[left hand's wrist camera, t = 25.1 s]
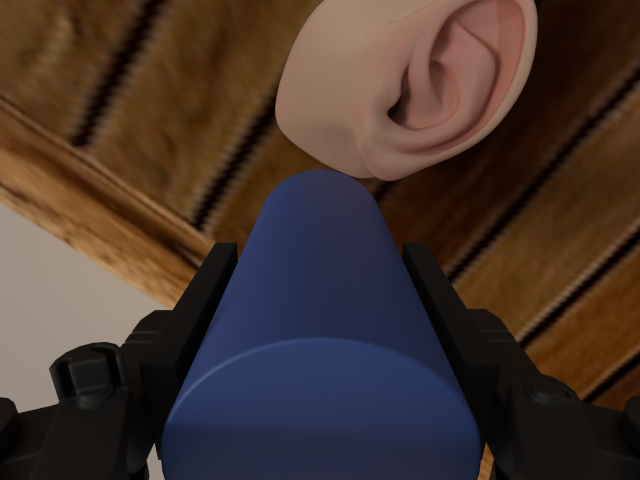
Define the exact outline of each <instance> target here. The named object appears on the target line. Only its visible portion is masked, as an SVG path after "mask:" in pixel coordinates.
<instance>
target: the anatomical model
mask: <svg viewBox="0 0 640 480" xmlns="http://www.w3.org/2000/svg"><path fill="white" fill-rule="evenodd" d="M536 40H537V12H536V6H535V3H534V0H324V1H323V2H322V3H321V4H320V5H319V6H318V7H317V8H316V9H315V10H314V11H313V13H312V14H311V15H310V17H309V18H308V19H307V21H306V23H305V24H304V26H303V28H302V29H301V31H300V33H299V35H298V37H297V39H296V41H295V43H294V45H293V47H292V49H291V52H290V55H289V57H288V60H287V63H286V65H285V68H284V72H283V75H282V78H281V81H280V85H279V89H278V94H277V99H276V111H275V113H276V120H277V123H278V125H279V127H280V129H281V131H282V132H283V133H284V134H285V136H286V137H287V138H288V139H289V140H291V141H292V142H293V143H294V144H295V145H297V146H298V147H299V148H301V149H302V150H304V151H305V152H307V153H308V154H310V155H311V156H313V157H314V158H316V159H317V160H319V161H321V162H322V163H324V164H326V165H328V166H330V167H332V168H334V169H336V170H338V171H341V172H343V173H345V174H348V175H350V176H354V177H358V178H372V177H377V178H379V179H382V180H386V181H392V180H397V179H401V178H403V177H406V176H408V175H410V174H413V173H415V172H417V171H419V170H422V169H424V168H426V167H429V166H431V165H434V164H436V163H439V162H441V161H444V160H446V159H449V158H451V157H453V156H455V155H457V154H459V153H461V152H463V151H465V150H467V149H469V148H470V147H472V146H473V145H475V144H476V143H478V142H479V141H480V140H482V139H483V138H484V137H486V136H487V135H488V134H489V133H490V132H491V131H492V130H493V129H494V128H495V127H496V126H497V125H498V124H499V123H500V122H501V121H502V119H503V118H504V117H505V116H506V114H507V113H508V112H509V110H510V109H511V107H512V106H513V104H514V103H515V101H516V100H517V98H518V96H519V95H520V93H521V91H522V89H523V87H524V85H525V83H526V81H527V78H528V75H529V73H530V70H531V66H532V62H533V58H534V53H535V48H536Z"/></svg>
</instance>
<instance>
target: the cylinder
mask: <svg viewBox="0 0 640 480" xmlns="http://www.w3.org/2000/svg"><path fill="white" fill-rule="evenodd" d="M161 463H162V471H163V475H164V478H165V480H477V479H478V475H479V471H480V464H481V439H480V435H479V431H478V427H477V423H476V421H475V419H474V417H473V414H472V412H471V410H470V408H469V405H468V403H467V401H466V399H465V397H464V394H463V392H462V390H461V388H460V386H459V383H458V381H457V379H456V377H455V375H454V372H453V370H452V368H451V366H450V364H449V361H448V359H447V357H446V355H445V353H444V350H443V348H442V346H441V344H440V342H439V339H438V337H437V335H436V333H435V331H434V328H433V326H432V324H431V322H430V320H429V317H428V315H427V313H426V311H425V309H424V306H423V304H422V302H421V300H420V298H419V295H418V293H417V291H416V289H415V287H414V284H413V282H412V280H411V278H410V276H409V273H408V271H407V269H406V267H405V265H404V262H403V260H402V258H401V256H400V254H399V251H398V249H397V247H396V245H395V243H394V240H393V238H392V236H391V234H390V232H389V229H388V227H387V225H386V223H385V221H384V218H383V216H382V214H381V212H380V210H379V207H378V205H377V203H376V201H375V199H374V198H373V196H372V195H371V194H370V192H369V191H368V190H367V189H366V188H365V187H364V186H363V185H362V184H361V183H359V182H358V181H356V180H355V179H353V178H351V177H349V176H347V175H345V174H342V173H339V172H335V171H330V170H311V171H306V172H302V173H299V174H296V175H294V176H292V177H290V178H288V179H286V180H285V181H283V182H282V183H281V184H279V185H278V186H277V187H276V188H275V189H274V190H273V191H272V193H271V194H270V195H269V197H268V198H267V200H266V201H265V203H264V205H263V208H262V210H261V212H260V214H259V216H258V219H257V221H256V223H255V225H254V228H253V230H252V232H251V234H250V236H249V239H248V241H247V243H246V245H245V248H244V250H243V252H242V254H241V256H240V259H239V261H238V263H237V265H236V268H235V270H234V272H233V274H232V276H231V279H230V281H229V283H228V285H227V288H226V290H225V292H224V294H223V296H222V299H221V301H220V303H219V305H218V308H217V310H216V312H215V314H214V316H213V319H212V321H211V323H210V325H209V327H208V330H207V332H206V334H205V336H204V339H203V341H202V343H201V345H200V347H199V350H198V352H197V354H196V356H195V359H194V361H193V363H192V365H191V367H190V370H189V372H188V374H187V376H186V379H185V381H184V383H183V385H182V387H181V390H180V392H179V394H178V396H177V399H176V401H175V403H174V405H173V407H172V410H171V412H170V414H169V416H168V419H167V421H166V424H165V428H164V431H163V435H162V442H161Z"/></svg>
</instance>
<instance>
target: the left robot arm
mask: <svg viewBox="0 0 640 480" xmlns="http://www.w3.org/2000/svg"><path fill="white" fill-rule="evenodd" d="M402 260H403V262H404V265H405V267H406V269H407V271H408V273H409V276H410V278H411V280H412V282H413V284H414V287H415V289H416V291H417V293H418V295H419V298H420V300H421V302H422V304H423V306H424V309H425V311H426V313H427V315H428V317H429V320H430V322H431V324H432V326H433V328H434V331H435V333H436V335H437V337H438V339H439V342H440V344H441V346H442V348H443V350H444V353H445V355H446V357H447V359H448V361H449V364H450V366H451V368H452V370H453V372H454V375H455V377H456V379H457V381H458V383H459V386H460V388H461V390H462V392H463V394H464V397H465V399H466V401H467V403H468V405H469V408H470V410H471V412H472V414H473V417H474V419H475V421H476V423H477V427H478V431H479V435H480V439H481V460H482V458H483V453H484V448H485V443H486V442H487V444H488V447H489V449H490V451H491V453H492V455H493V457H494V460H493V465H492V469H491V474H490V478H489V480H640V396H633V397H632V398H630V399H629V400H628V401H627V402H626V404H625V407H624V410H623V412H622V411H617V410H613V409H608V408H604V407H599V406H595V405H590V404H587V403H584V402H581V400H580V399H579V397H578V396H577V394H576V393H575V392H574V391H573V390H572V389H571V388H570V387H568V386H567V385H566V384H565V383H563V382H561V381H559V380H557V379H555V378H553V377H550V376H547V375H544V374H541V373H540V372H539V370H538V369H537V368H536V366H535V365H534V364H533V362H532V361H531V360H530V358H529V357H528V356H527V354H526V353H525V352H524V350H523V349H522V348H521V346H520V345H519V344H518V342H516V340H515V338H514V337H513V336H512V334H511V333H509V330H508V329H507V328H506V326H505V325H504V324H503V322H502V321H501V320H500V319H499V318H498V317H497V316H495V315H494V314H492V313H491V312H489V311H488V310H486V309H467V308H466V307H465V305H464V304H463V302H462V300H461V299H460V297H459V296H458V294H457V293H456V291H455V290H454V288H453V286H452V285H451V283H450V282H449V280H448V279H447V277H446V275H445V274H444V272H443V271H442V269H441V268H440V266H439V264H438V263H437V261H436V260H435V258H434V257H433V255H432V253H431V252H430V250H429V249H428V247H427V246H426V244H425V243H404V244H403V255H402ZM237 263H238V252H237V243H215V245H214V246H213V248H212V249H211V251H210V252H209V254H208V255H207V257H206V259H205V260H204V262H203V263H202V265H201V266H200V268H199V270H198V271H197V273H196V274H195V276H194V277H193V279H192V281H191V282H190V284H189V285H188V287H187V288H186V290H185V292H184V293H183V295H182V296H181V298H180V299H179V301H178V302H177V304H176V306H175V307H174V309H173V310H155V311H153V312H152V313H150V314H149V315H147V316H146V317H144V318H143V319H141V320H140V322H139V323H138V324H137V326H136V327H135V328H134V330H133V331H132V334H130V335H129V336H128V338H127V339H126V340H125V344H122V346H121V347H119V346H117V345H116V344H113V343H108V342H99V343H91V344H87V345H83V346H79V347H77V348H75V349H73V350H70V351H68V352H66V353H65V354H63V355H62V356H61V357H59V358H58V359H56V360H55V362H54V363H53V364H52V365H51V367H50V368H49V370H50V373H51V377H52V380H53V383H54V386H55V389H56V393H57V396H58V399H59V403H58V404H56V405H52V406H48V407H44V408H40V409H35V410H30V411H26V412H22V413H18V412H17V409H16V406H15V404H14V402H13V401H11V400H10V399H8V398H2V397H0V480H149V470H148V465H147V458H148V456H149V453H150V451H151V449H152V447H153V444H154V442H155V447H156V452H157V456H158V460H161V442H162V435H163V431H164V428H165V424H166V421H167V419H168V416H169V414H170V412H171V410H172V407H173V405H174V403H175V401H176V399H177V396H178V394H179V392H180V390H181V387H182V385H183V383H184V381H185V379H186V376H187V374H188V372H189V370H190V367H191V365H192V363H193V361H194V359H195V356H196V354H197V352H198V350H199V347H200V345H201V343H202V341H203V339H204V336H205V334H206V332H207V330H208V327H209V325H210V323H211V321H212V319H213V316H214V314H215V312H216V310H217V308H218V305H219V303H220V301H221V299H222V296H223V294H224V292H225V290H226V288H227V285H228V283H229V281H230V279H231V276H232V274H233V272H234V270H235V268H236V265H237Z"/></svg>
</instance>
